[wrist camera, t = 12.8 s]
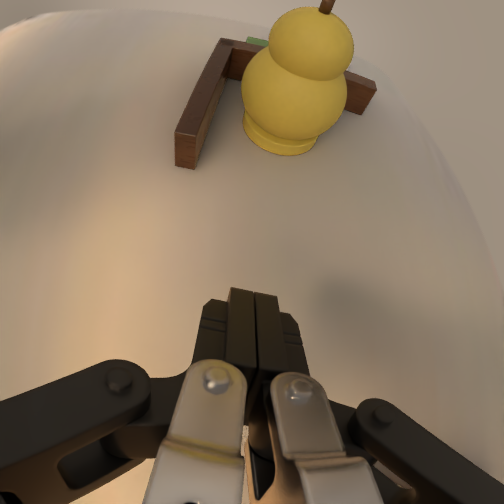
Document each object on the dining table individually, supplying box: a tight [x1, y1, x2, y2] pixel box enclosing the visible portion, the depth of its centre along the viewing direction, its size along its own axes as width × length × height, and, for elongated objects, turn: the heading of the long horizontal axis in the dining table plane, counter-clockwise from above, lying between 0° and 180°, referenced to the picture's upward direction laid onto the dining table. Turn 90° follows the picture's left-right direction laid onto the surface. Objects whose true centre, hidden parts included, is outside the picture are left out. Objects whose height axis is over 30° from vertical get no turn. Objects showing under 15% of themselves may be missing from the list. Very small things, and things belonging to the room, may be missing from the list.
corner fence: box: [174, 38, 377, 170], centre depth 19 cm, size 12×11×3 cm
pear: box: [241, 0, 354, 156], centre depth 16 cm, size 6×6×11 cm
